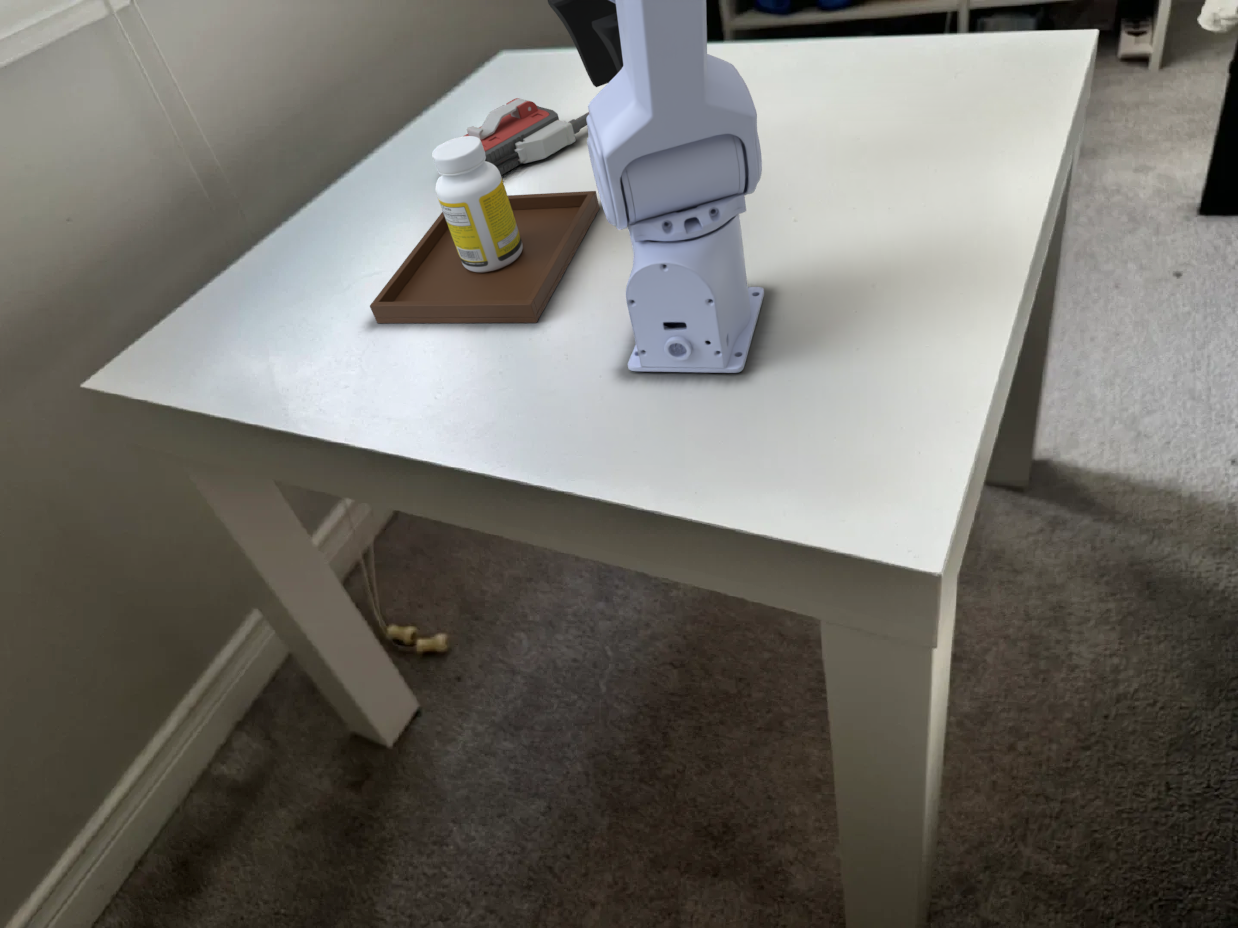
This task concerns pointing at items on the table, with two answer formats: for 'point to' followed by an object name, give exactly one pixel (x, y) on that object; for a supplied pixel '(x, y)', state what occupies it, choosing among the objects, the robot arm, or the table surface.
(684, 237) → the robot arm
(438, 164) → the supplement bottle
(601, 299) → the table surface
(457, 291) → the tray
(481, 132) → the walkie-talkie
